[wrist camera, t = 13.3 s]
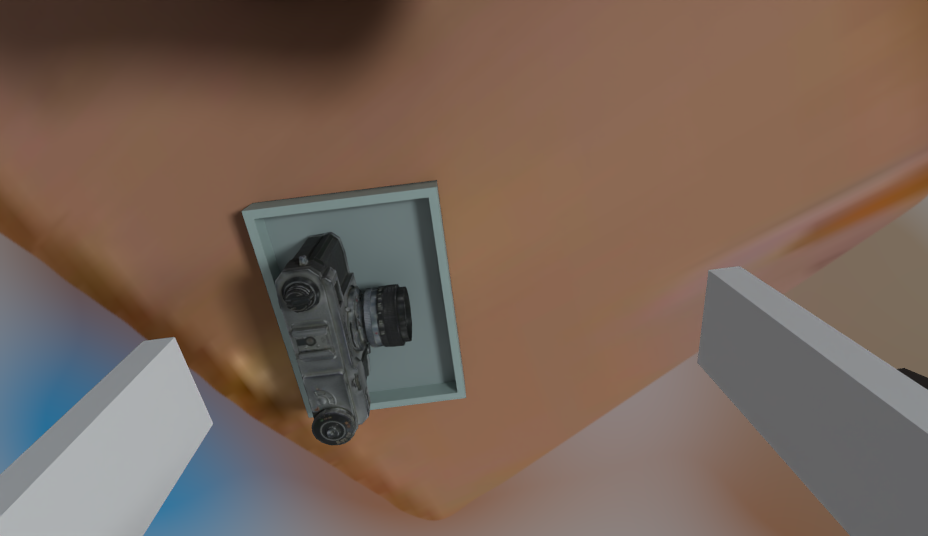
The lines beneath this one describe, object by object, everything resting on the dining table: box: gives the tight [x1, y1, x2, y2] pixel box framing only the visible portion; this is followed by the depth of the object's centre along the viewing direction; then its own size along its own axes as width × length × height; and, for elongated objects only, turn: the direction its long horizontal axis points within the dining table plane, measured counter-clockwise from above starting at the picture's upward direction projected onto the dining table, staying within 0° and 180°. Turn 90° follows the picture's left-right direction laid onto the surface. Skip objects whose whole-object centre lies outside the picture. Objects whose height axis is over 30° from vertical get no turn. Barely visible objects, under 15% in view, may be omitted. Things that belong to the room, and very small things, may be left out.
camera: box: [275, 232, 412, 445], centre depth 40 cm, size 18×9×10 cm, turn 7°
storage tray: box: [242, 180, 466, 418], centre depth 44 cm, size 23×17×2 cm
